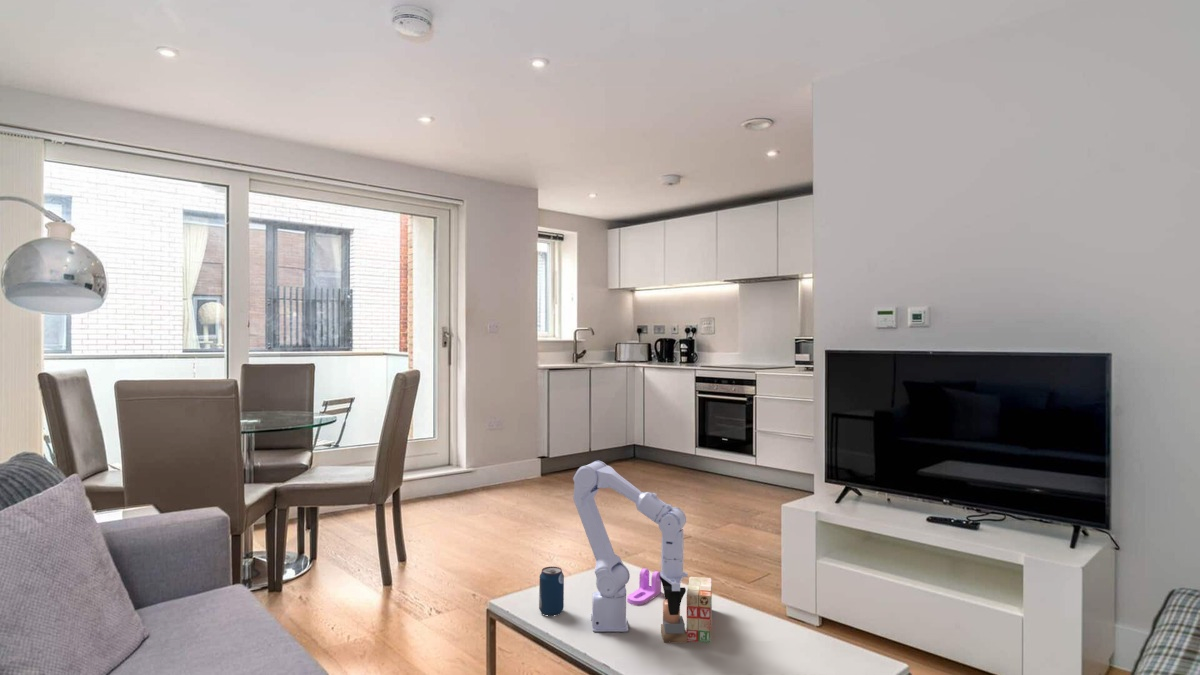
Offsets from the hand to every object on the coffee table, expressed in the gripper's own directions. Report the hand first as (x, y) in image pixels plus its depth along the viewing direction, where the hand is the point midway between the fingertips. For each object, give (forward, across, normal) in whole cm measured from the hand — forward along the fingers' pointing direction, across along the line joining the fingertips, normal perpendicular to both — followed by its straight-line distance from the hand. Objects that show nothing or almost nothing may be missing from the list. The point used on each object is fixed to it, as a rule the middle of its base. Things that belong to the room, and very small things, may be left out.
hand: (671, 608), depth 167 cm
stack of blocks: (+8, +8, -9) cm, 14 cm away
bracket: (+8, +27, +5) cm, 28 cm away
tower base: (+8, 0, -1) cm, 8 cm away
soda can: (+8, +16, +32) cm, 37 cm away
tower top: (+5, 0, 0) cm, 5 cm away
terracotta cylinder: (+3, 0, 0) cm, 3 cm away
